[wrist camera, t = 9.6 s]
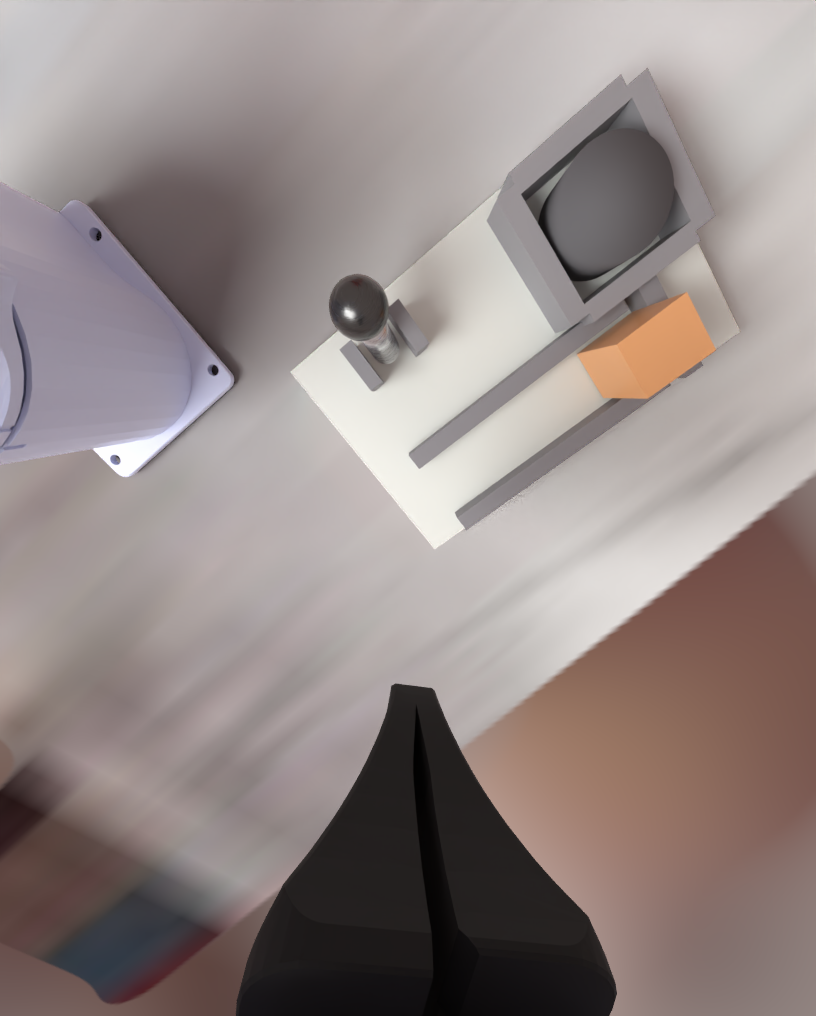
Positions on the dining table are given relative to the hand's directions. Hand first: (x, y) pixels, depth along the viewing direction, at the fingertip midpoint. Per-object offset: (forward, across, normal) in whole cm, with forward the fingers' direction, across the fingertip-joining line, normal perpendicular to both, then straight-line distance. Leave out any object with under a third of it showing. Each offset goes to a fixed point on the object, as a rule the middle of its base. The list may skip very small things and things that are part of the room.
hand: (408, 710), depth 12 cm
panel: (+10, -3, -12) cm, 16 cm away
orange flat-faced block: (+8, -8, -13) cm, 17 cm away
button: (+8, -5, -17) cm, 20 cm away
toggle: (+7, +3, -11) cm, 14 cm away
